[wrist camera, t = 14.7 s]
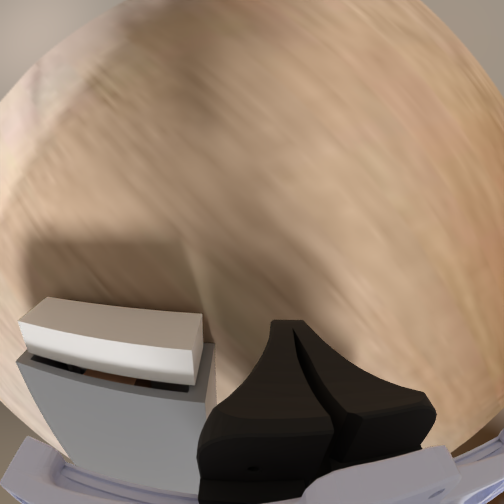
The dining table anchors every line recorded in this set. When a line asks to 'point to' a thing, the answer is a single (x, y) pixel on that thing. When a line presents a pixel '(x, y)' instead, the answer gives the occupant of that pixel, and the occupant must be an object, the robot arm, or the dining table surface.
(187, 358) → the tray
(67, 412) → the housing
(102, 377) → the block
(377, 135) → the dining table surface
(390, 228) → the dining table surface
